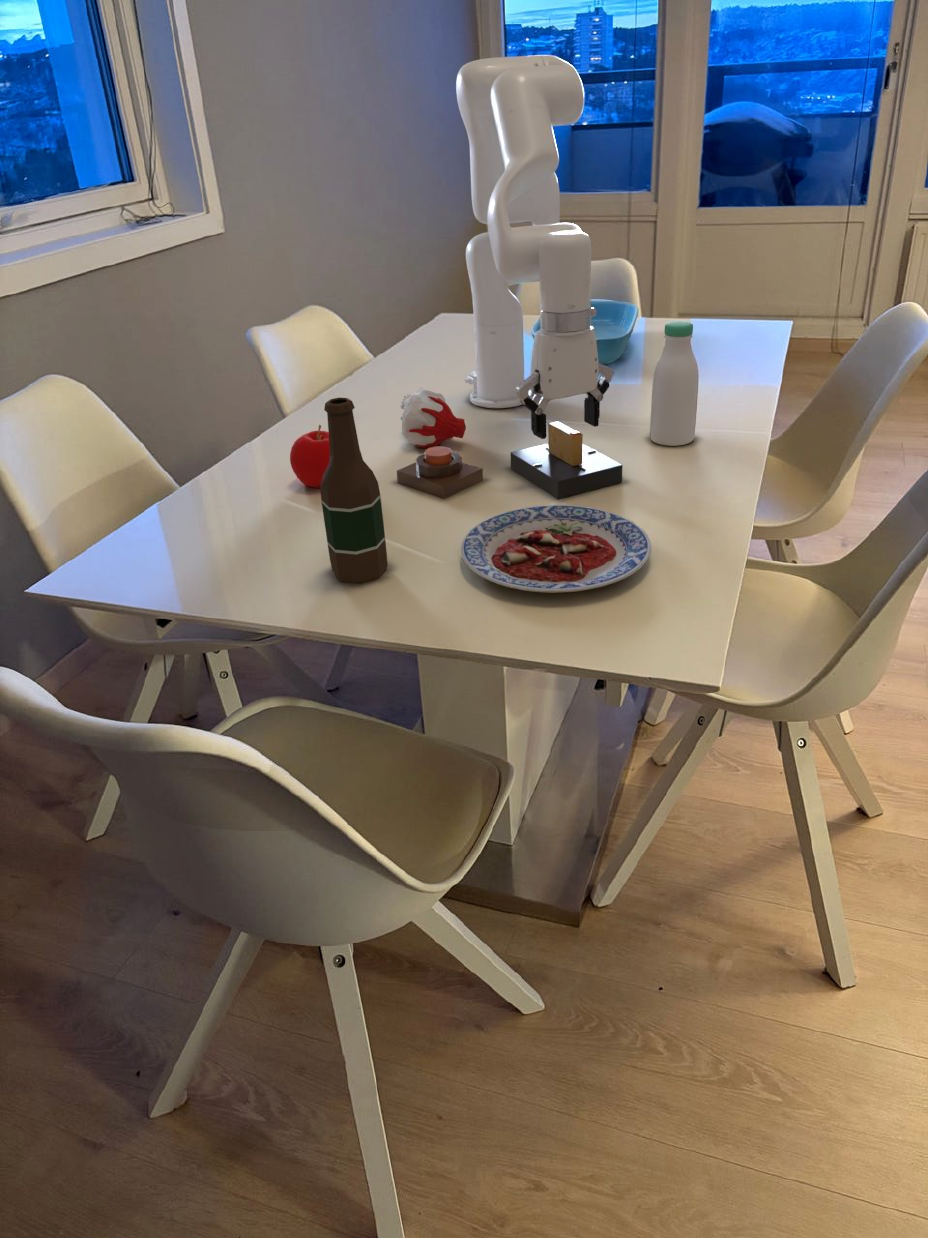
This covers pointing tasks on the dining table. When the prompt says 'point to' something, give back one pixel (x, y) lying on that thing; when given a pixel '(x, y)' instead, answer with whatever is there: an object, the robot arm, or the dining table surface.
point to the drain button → (438, 455)
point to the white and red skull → (429, 419)
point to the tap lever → (565, 443)
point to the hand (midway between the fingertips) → (565, 430)
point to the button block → (440, 476)
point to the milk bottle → (675, 388)
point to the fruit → (311, 457)
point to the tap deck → (566, 471)
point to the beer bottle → (351, 502)
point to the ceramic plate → (556, 548)
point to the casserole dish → (609, 327)
